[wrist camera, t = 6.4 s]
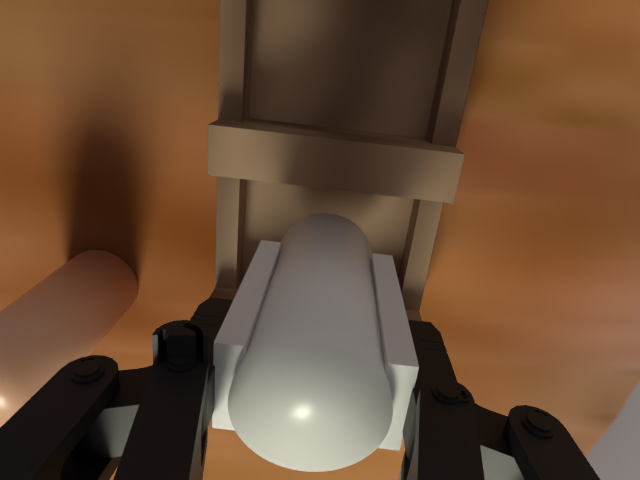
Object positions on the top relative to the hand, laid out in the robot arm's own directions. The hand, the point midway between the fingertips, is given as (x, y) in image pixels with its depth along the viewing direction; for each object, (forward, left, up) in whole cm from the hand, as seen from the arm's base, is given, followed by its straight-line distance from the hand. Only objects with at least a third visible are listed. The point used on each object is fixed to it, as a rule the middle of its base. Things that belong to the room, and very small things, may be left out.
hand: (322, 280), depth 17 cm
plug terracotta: (-12, -5, -6) cm, 14 cm away
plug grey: (0, 0, -2) cm, 2 cm away
